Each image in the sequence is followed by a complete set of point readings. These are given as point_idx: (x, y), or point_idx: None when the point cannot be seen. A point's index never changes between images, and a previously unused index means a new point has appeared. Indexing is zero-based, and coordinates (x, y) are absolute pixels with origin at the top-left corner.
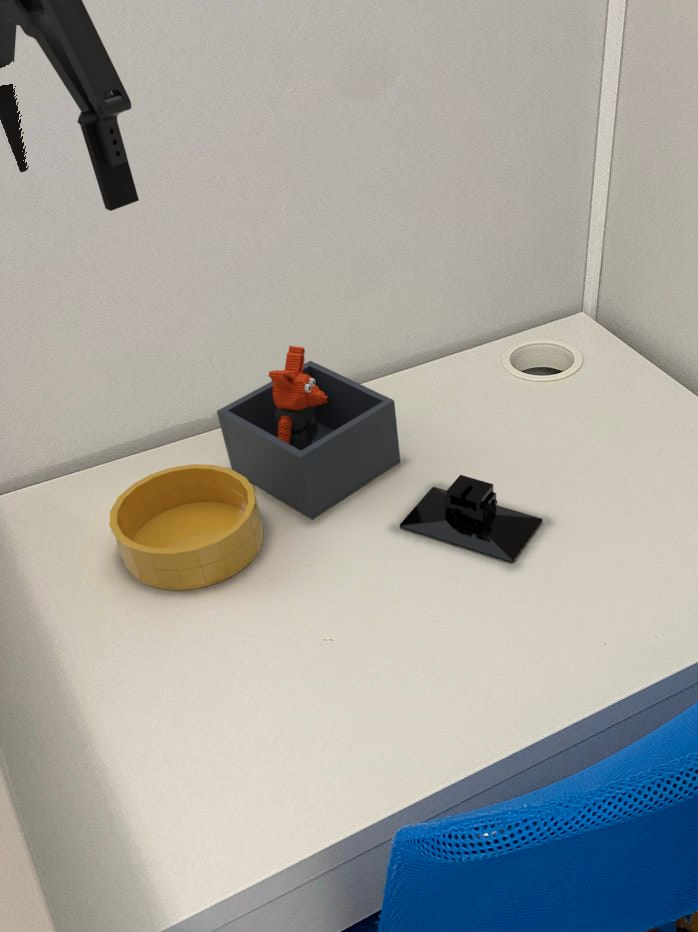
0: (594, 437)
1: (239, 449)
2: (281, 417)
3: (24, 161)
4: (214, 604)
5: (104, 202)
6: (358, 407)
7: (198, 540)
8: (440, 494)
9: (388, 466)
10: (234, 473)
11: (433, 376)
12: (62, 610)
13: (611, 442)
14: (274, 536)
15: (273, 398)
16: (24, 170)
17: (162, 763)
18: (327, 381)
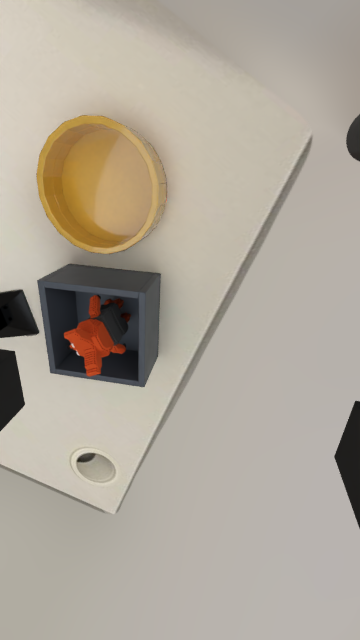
0: (14, 416)
1: (132, 280)
2: (97, 315)
3: (357, 429)
4: (41, 145)
5: (1, 357)
6: None
7: (107, 191)
8: (26, 328)
9: None
10: (101, 250)
11: (135, 429)
12: (123, 43)
13: None
14: None
15: (100, 324)
16: (352, 409)
17: None
18: (120, 374)
